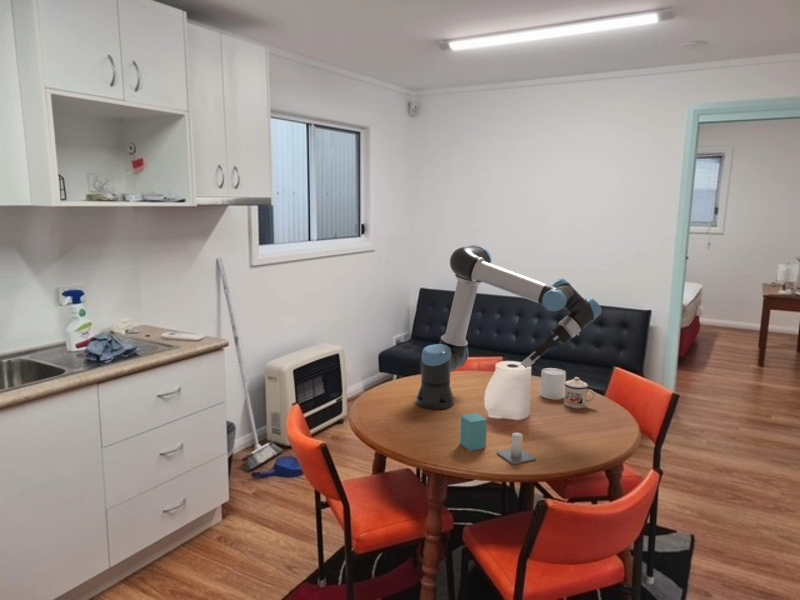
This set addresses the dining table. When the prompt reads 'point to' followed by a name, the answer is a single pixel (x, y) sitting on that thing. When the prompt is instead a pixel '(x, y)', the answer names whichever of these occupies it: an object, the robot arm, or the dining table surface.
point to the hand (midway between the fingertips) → (521, 368)
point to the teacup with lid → (576, 393)
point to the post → (516, 451)
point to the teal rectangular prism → (473, 432)
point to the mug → (553, 383)
